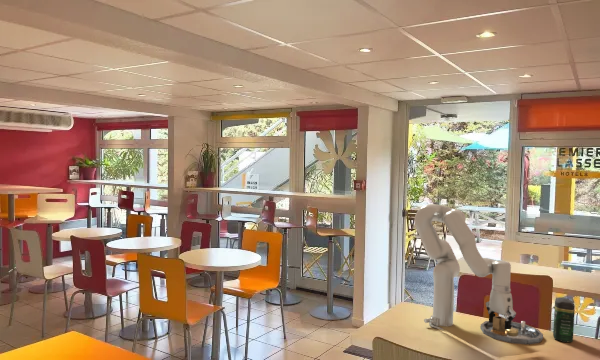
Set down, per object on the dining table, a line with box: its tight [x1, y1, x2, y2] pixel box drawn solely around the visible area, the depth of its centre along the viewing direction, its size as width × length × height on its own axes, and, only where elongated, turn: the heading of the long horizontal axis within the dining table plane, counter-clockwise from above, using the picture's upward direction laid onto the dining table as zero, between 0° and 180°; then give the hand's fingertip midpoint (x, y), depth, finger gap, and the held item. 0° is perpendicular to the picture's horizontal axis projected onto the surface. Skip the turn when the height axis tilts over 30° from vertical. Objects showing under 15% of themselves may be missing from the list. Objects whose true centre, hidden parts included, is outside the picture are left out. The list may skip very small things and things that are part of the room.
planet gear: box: [491, 315, 507, 336], centre depth 211 cm, size 7×7×8 cm
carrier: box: [480, 320, 544, 345], centre depth 214 cm, size 25×25×6 cm
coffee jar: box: [552, 297, 576, 343], centre depth 213 cm, size 10×8×19 cm
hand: (499, 325), depth 211 cm, fingers open, 9 cm apart
